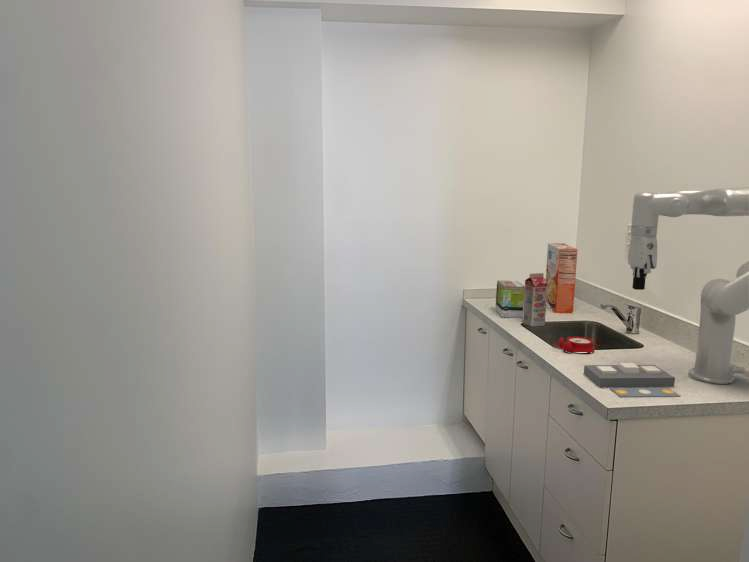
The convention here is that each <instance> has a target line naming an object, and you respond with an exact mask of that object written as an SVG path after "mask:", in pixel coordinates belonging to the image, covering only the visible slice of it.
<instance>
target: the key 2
mask: <svg viewBox="0 0 749 562" xmlns="http://www.w3.org/2000/svg"><path fill="white" fill-rule="evenodd" d="M655 366H656V365H655ZM655 366H640V370H641V371H643V372H644V373H646V374H661V370H659V369H658V368H656V367H655Z"/></svg>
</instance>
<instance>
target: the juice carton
mask: <svg viewBox="0 0 749 562" xmlns="http://www.w3.org/2000/svg"><path fill="white" fill-rule="evenodd" d="M547 284H548V282H547V281H546V278H545V277H544V272H543V273H542V272H541V273H537V272H536V273H529V277H528V278H526V279H525V280H524V286H525V292H524V306H523V317H522V323H523V324H525V325H528V326H529V327H540V326H546V325H545V324H546V314H547V312H546V311H547V305H546V299H547Z"/></svg>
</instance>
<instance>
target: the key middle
mask: <svg viewBox="0 0 749 562" xmlns="http://www.w3.org/2000/svg"><path fill="white" fill-rule="evenodd" d="M618 365H619V366H618V370H619V371H621V372H622V373H624V374H639V367H638V366H637V365H638V364H636V363H633V362H618Z"/></svg>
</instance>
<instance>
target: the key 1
mask: <svg viewBox="0 0 749 562" xmlns="http://www.w3.org/2000/svg"><path fill="white" fill-rule="evenodd" d="M596 370H597V371H599V372H600V373H601V374H617V371H616V370H615V369H614V368H612V367H611V366H597V368H596Z"/></svg>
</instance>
